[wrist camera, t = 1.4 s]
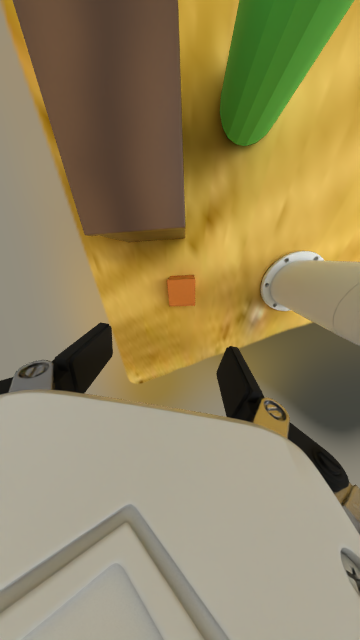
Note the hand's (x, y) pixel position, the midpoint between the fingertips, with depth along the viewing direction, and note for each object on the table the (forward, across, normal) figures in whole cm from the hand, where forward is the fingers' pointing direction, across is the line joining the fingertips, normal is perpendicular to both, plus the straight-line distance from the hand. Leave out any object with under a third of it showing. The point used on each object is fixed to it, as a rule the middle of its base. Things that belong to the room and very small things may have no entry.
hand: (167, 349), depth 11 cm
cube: (+23, 0, 0) cm, 23 cm away
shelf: (+23, +9, -16) cm, 30 cm away
